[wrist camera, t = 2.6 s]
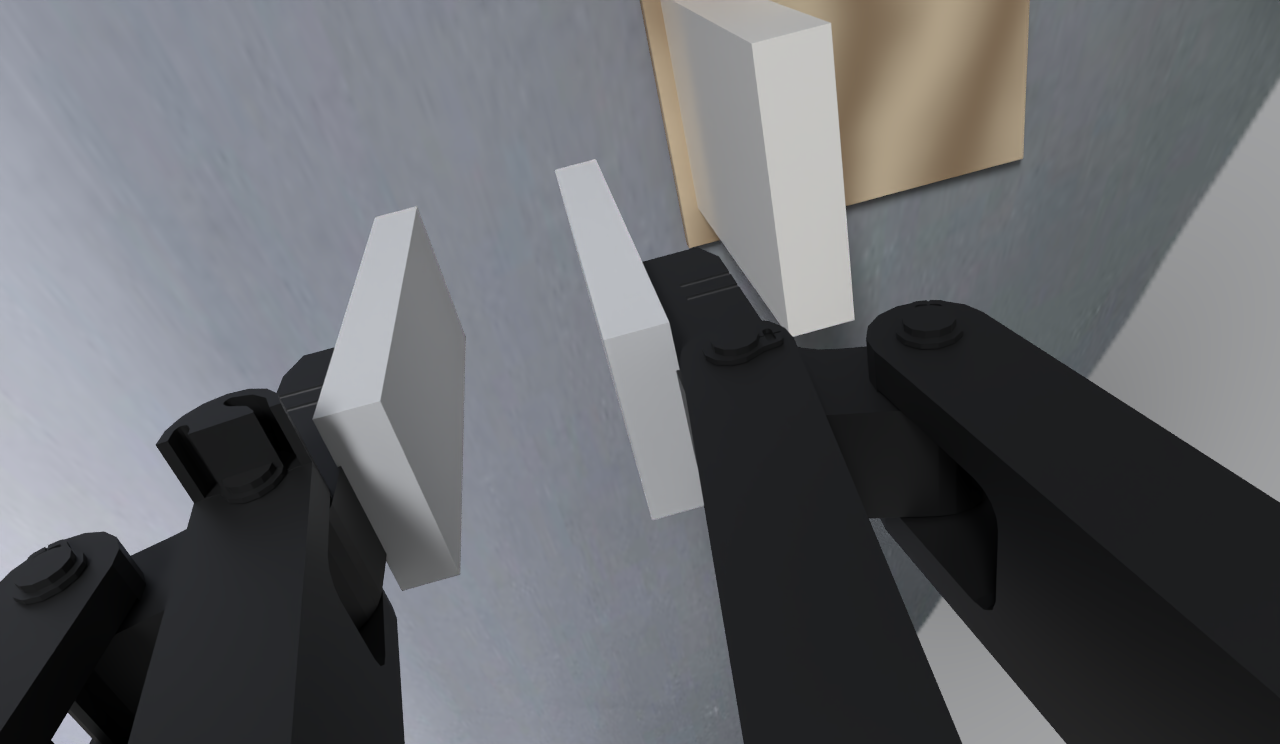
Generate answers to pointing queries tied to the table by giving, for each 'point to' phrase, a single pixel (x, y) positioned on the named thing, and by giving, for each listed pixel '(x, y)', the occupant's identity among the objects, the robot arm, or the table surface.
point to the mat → (894, 93)
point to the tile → (767, 149)
